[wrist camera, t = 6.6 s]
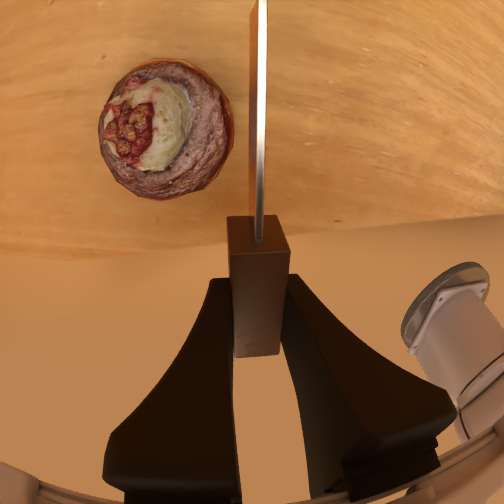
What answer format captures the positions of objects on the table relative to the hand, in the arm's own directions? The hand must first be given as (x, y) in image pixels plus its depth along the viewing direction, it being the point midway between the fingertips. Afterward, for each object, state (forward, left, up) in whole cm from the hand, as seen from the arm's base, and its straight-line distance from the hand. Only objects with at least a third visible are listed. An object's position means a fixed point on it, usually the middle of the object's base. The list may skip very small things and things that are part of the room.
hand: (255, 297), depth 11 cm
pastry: (+5, +4, -9) cm, 11 cm away
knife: (+4, 0, -1) cm, 4 cm away
